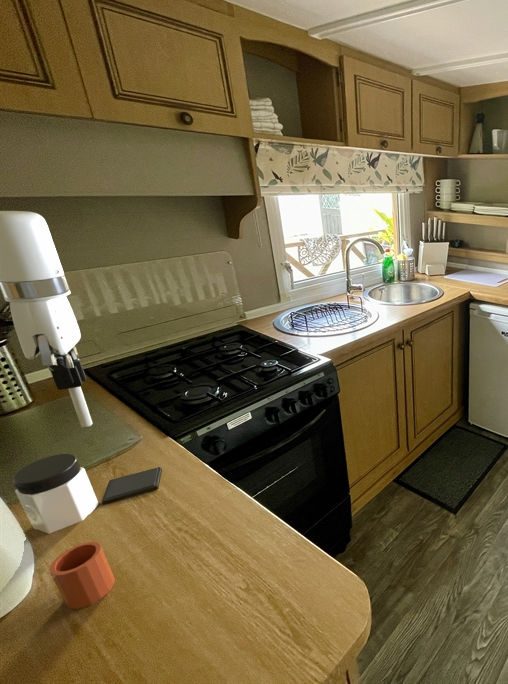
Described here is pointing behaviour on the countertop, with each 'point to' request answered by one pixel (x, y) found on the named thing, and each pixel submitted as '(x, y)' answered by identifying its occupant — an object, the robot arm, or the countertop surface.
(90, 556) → the pen pot
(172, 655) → the countertop surface
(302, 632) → the countertop surface
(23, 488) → the jar
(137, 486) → the tablet
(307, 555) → the countertop surface
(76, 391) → the stylus
